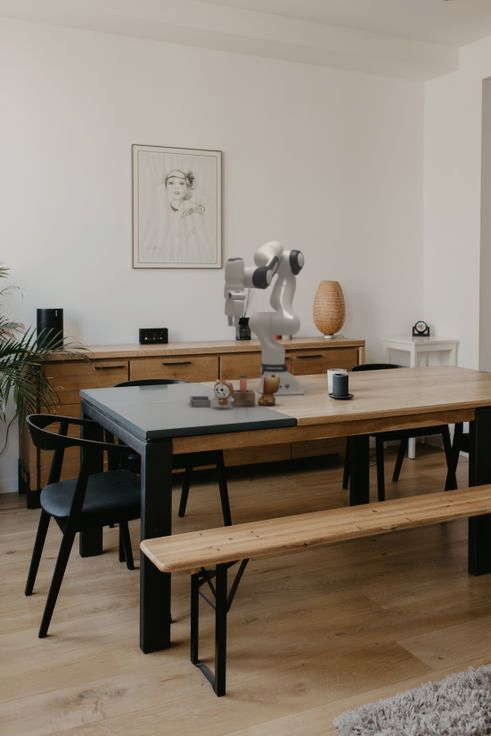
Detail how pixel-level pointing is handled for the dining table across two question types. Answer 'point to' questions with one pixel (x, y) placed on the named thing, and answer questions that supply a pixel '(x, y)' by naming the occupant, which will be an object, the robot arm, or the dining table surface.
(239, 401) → the hitch block
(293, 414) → the dining table surface
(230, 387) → the figurine
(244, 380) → the pin
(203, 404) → the tray
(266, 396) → the figurine
